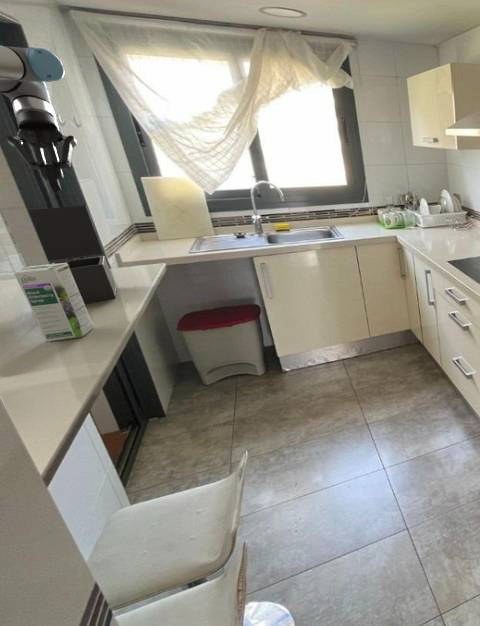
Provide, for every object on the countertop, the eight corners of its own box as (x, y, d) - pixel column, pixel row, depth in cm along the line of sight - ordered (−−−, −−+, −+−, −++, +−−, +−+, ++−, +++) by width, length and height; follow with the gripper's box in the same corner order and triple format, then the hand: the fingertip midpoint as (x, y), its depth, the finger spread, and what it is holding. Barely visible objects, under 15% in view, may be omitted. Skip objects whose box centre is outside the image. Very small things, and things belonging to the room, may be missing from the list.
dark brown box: (115, 298, 115) (102, 264, 111) (59, 308, 108) (43, 272, 105) (116, 287, 123) (104, 255, 120) (63, 296, 117) (49, 263, 113)
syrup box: (45, 343, 90) (11, 272, 85) (60, 332, 95) (29, 264, 90) (82, 337, 92) (52, 268, 87) (95, 327, 97) (67, 261, 92)
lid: (85, 205, 116) (86, 205, 117) (28, 209, 110) (29, 210, 111) (103, 253, 119) (103, 253, 120) (48, 261, 113) (48, 261, 114)
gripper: (74, 130, 131) (94, 194, 126) (7, 130, 124) (25, 199, 118) (65, 109, 126) (85, 175, 120) (-6, 108, 118) (12, 179, 112)
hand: (55, 187), depth 119 cm, fingers closed
